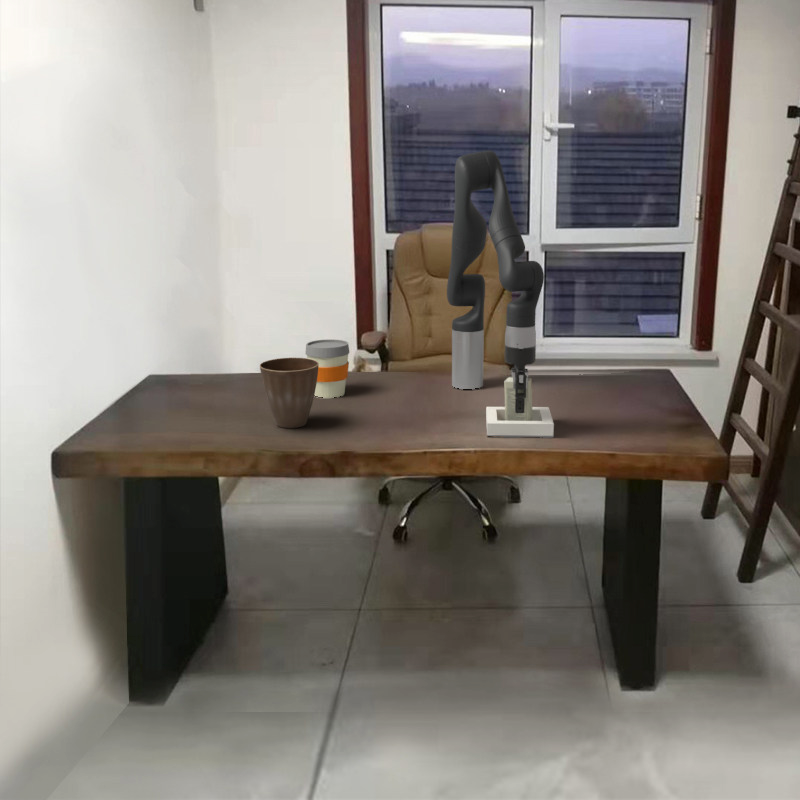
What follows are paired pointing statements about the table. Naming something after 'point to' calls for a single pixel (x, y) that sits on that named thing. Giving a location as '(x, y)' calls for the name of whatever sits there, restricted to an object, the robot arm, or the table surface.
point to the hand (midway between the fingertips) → (519, 408)
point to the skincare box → (510, 402)
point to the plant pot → (290, 389)
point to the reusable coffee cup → (329, 366)
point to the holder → (519, 424)
